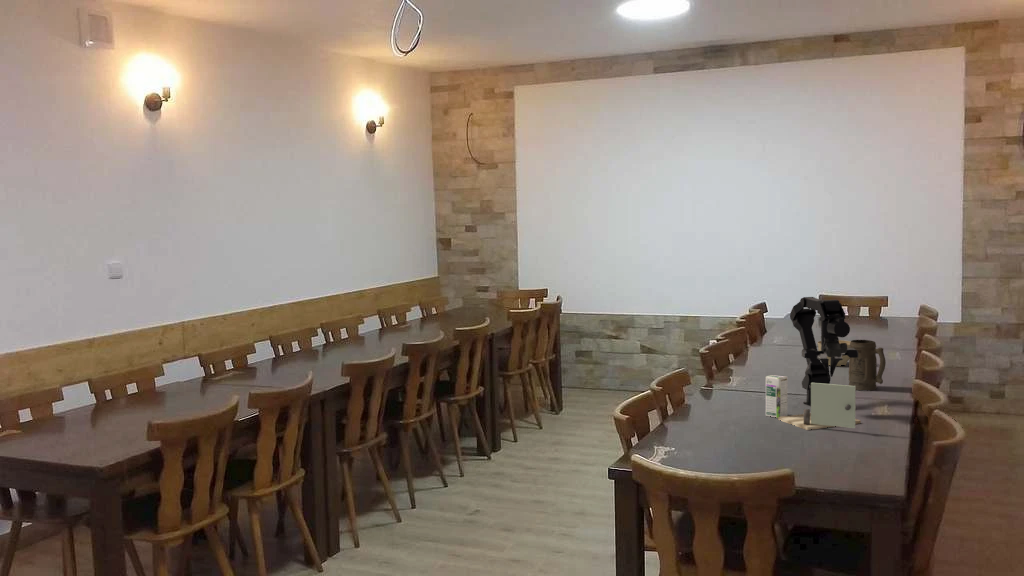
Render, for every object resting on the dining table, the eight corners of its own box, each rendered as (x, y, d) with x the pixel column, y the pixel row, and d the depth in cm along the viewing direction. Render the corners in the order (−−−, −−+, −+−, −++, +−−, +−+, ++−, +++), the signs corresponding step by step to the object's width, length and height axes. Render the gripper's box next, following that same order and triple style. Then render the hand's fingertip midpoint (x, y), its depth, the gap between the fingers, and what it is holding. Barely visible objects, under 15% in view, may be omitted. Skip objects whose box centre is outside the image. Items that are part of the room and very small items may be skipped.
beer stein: (841, 388, 345) (845, 340, 342) (854, 384, 352) (857, 337, 349) (878, 395, 333) (882, 346, 331) (890, 391, 341) (894, 343, 338)
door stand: (777, 419, 296) (777, 403, 295) (829, 413, 302) (829, 397, 302) (807, 430, 280) (807, 412, 280) (860, 423, 287) (860, 406, 287)
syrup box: (764, 416, 302) (764, 376, 300) (774, 413, 305) (773, 374, 304) (778, 418, 297) (778, 378, 296) (788, 415, 301) (787, 376, 300)
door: (811, 423, 284) (811, 382, 283) (855, 427, 276) (855, 386, 275) (809, 424, 282) (809, 384, 281) (853, 429, 274) (853, 387, 273)
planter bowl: (810, 363, 402) (810, 341, 402) (838, 361, 407) (838, 339, 406) (832, 369, 387) (832, 345, 386) (861, 366, 392) (861, 343, 391)
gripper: (807, 337, 296) (808, 380, 297) (862, 336, 294) (862, 380, 295) (801, 333, 307) (801, 375, 308) (854, 332, 305) (854, 374, 306)
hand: (829, 376), depth 304 cm, fingers closed
